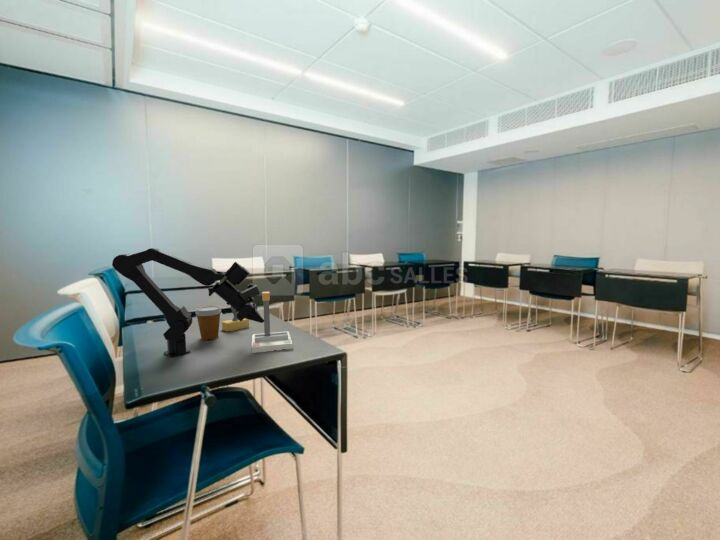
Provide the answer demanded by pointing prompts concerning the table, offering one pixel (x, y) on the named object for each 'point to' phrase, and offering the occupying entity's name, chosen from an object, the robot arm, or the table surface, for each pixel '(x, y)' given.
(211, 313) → the disposable coffee cup
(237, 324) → the rubber stamp
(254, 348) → the switch base
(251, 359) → the table surface
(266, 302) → the switch handle
